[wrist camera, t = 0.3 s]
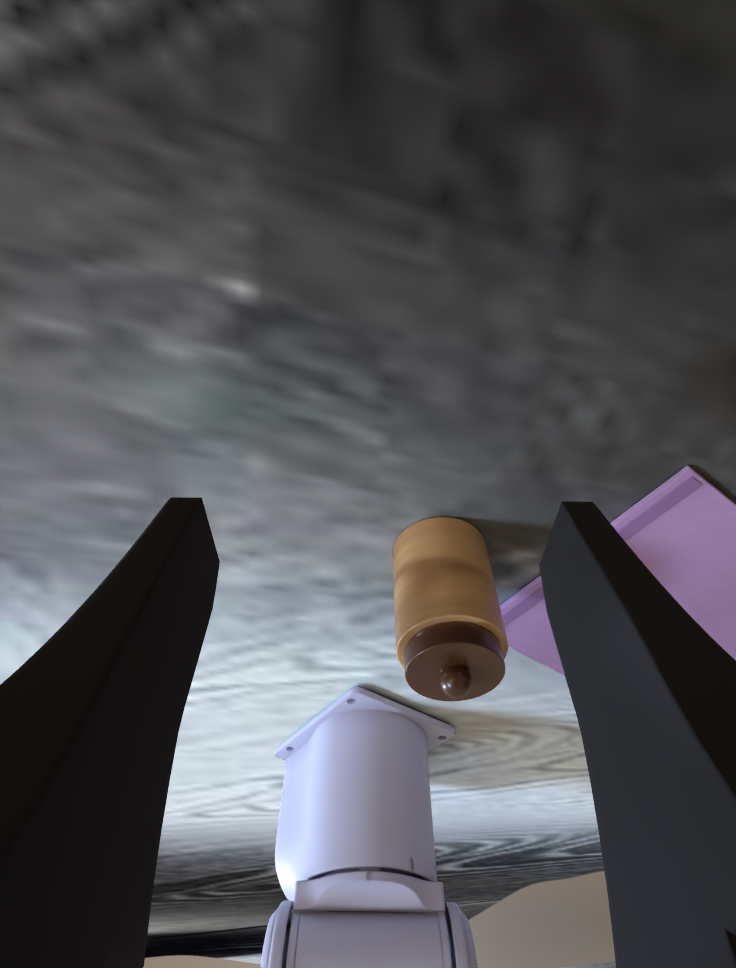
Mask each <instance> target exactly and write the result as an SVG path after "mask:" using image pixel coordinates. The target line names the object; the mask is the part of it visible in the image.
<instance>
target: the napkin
mask: <svg viewBox="0 0 736 968" xmlns="http://www.w3.org/2000/svg"><path fill="white" fill-rule="evenodd" d="M610 524H611V525H612V526H613V527H614V529H615V530H616V531H617V532H618V533H619V535H620V536H621V537H622V538H623V540H624V541H625V542H626V543H627V544H628V546H629V547H630V548H631V549H632V550H633V552H634V553H635V554H636V555H637V556H638V558H639V559H640V560H641V561H642V562H643V564H644V565H645V566H646V567H647V568H648V569H649V571H650V572H651V573H652V574H653V575H654V576H655V577H656V578H657V580H658V581H659V582H660V583H661V584H662V585H663V586H664V588H665V589H666V590H667V591H668V592H669V593H670V594H671V595H672V597H673V598H674V599H675V600H676V601H677V602H678V603H679V604H680V605H681V606H682V607H683V609H684V610H685V611H686V612H687V613H688V614H689V615H690V616H691V617H692V618H693V619H694V620H695V621H696V622H697V623H698V624H699V625H700V626H701V627H702V628H703V629H704V630H705V631H706V632H707V633H708V634H709V635H710V636H711V637H712V638H713V639H714V640H715V641H716V642H717V643H718V644H719V645H720V646H721V647H722V648H723V649H724V650H725V651H726V652H727V653H728V654H729V655H730V656H731V657H732V658H734V659H735V660H736V503H734V502H733V501H732V500H731V499H729V498H728V497H727V496H726V495H724V494H723V493H722V492H721V491H719V490H718V489H717V488H716V487H714V486H713V485H712V484H711V483H709V482H708V481H707V480H706V479H704V478H703V477H702V476H701V475H699V474H698V473H697V472H696V471H694V470H693V469H692V468H691V467H689V466H688V465H687V466H686V467H684V468H683V469H682V470H680V471H679V472H678V473H676V474H675V475H674V476H672V477H671V478H670V479H668V480H667V481H666V482H664V483H663V484H662V485H660V486H659V487H658V488H656V489H655V490H654V491H652V492H651V493H650V494H648V495H647V496H646V497H644V498H643V499H642V500H640V501H639V502H638V503H636V504H635V505H634V506H632V507H631V508H630V509H628V510H627V511H626V512H624V513H623V514H621V515H620V516H619V517H617V518H616V519H615V520H613V521H612V522H611V523H610ZM500 609H501V613H502V618H503V622H504V627H505V631H506V635H507V640H508V646H509V647H511V648H512V649H514V650H516V651H518V652H520V653H522V654H524V655H526V656H528V657H530V658H532V659H534V660H536V661H538V662H540V663H542V664H544V665H545V666H547V667H549V668H551V669H553V670H555V671H557V672H559V673H561V674H563V675H565V674H564V670H563V667H562V663H561V660H560V657H559V653H558V650H557V646H556V643H555V639H554V636H553V632H552V629H551V625H550V622H549V618H548V615H547V611H546V605H545V599H544V593H543V586H542V580H541V575H540V576H539V577H537V578H536V579H535V580H533V581H532V582H531V583H529V584H528V585H527V586H525V587H524V588H523V589H521V590H520V591H519V592H517V593H516V594H515V595H513V596H512V597H511V598H509V599H508V600H507V601H505V602H504V603H503V604H501V605H500Z"/></svg>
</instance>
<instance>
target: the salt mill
mask: <svg viewBox="0 0 736 968" xmlns="http://www.w3.org/2000/svg"><path fill="white" fill-rule="evenodd" d="M392 557H393V583H394V608H395V634H396V654H397V658H398V660H399V662H400V664H401V665H402V667H403V668H404V669H405V678H406V681H407V683H408V684H409V686H410V687H411V688H412V689H413V690H414V691H416V692H417V693H419V694H420V695H422V696H425V697H427V698H431V699H435V700H441V701H461V700H468V699H472V698H476V697H479V696H481V695H483V694H486V693H488V692H489V691H491V690H492V689H494V688H495V687H496V686H497V685H498V684H499V683H500V682H501V680H502V679H503V677H504V674H505V663H504V658H505V657H506V654H507V651H508V640H507V635H506V631H505V627H504V622H503V618H502V613H501V609H500V605H499V600H498V596H497V591H496V587H495V583H494V578H493V574H492V569H491V565H490V561H489V556H488V552H487V547H486V543H485V540H484V538H483V536H482V534H481V533H480V532H479V531H478V530H477V529H476V528H475V527H474V526H472V525H471V524H469V523H467V522H465V521H463V520H460V519H456V518H450V517H434V518H428V519H425V520H421V521H419V522H416V523H414V524H412V525H411V526H409V527H408V528H406V529H405V530H404V531H403V532H402V533H401V534H400V535H399V536H398V538H397V539H396V541H395V543H394V546H393V552H392Z"/></svg>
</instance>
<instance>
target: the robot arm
mask: <svg viewBox="0 0 736 968" xmlns="http://www.w3.org/2000/svg"><path fill="white" fill-rule="evenodd" d="M219 563H220V562H219V558H218V554H217V551H216V547H215V544H214V540H213V537H212V533H211V529H210V526H209V522H208V519H207V515H206V512H205V508H204V504H203V501H202V498H170V499H169V500H168V501H167V502H166V503H165V505H164V506H163V507H162V509H161V510H160V511H159V513H158V514H157V515H156V516H155V518H154V519H153V520H152V522H151V523H150V524H149V526H148V527H147V528H146V529H145V531H144V532H143V533H142V535H141V536H140V537H139V538H138V540H137V541H136V542H135V543H134V545H133V546H132V547H131V548H130V550H129V551H128V552H127V553H126V555H125V556H124V557H123V558H122V559H121V561H120V562H119V563H118V564H117V565H116V567H115V568H114V569H113V570H112V571H111V572H110V574H109V575H108V576H107V577H106V578H105V580H104V581H103V582H102V583H101V584H100V585H99V587H98V588H97V589H96V590H95V591H94V592H93V593H92V594H91V596H90V597H89V598H88V599H87V600H86V601H85V602H84V603H83V604H82V605H81V606H80V608H79V609H78V610H77V611H76V612H75V613H74V614H73V615H72V616H71V617H70V618H69V619H68V621H67V622H66V623H65V624H64V625H63V626H62V627H61V628H60V629H59V630H58V631H57V632H56V633H55V634H54V635H53V636H52V637H51V638H50V639H49V640H48V641H47V642H46V643H45V644H44V645H43V646H42V647H41V648H40V649H39V650H38V651H37V652H36V653H35V654H34V655H33V656H32V657H30V658H29V659H28V660H27V661H26V662H25V663H24V664H23V665H22V666H21V667H20V668H19V669H18V670H17V671H16V672H14V673H13V674H12V675H11V676H10V677H9V678H8V679H6V680H5V681H4V682H3V683H2V684H1V685H0V968H143V966H144V959H145V950H146V941H147V933H148V925H149V917H150V908H151V900H152V892H153V884H154V877H155V871H156V864H157V857H158V850H159V843H160V836H161V829H162V823H163V817H164V811H165V805H166V799H167V793H168V786H169V780H170V775H171V769H172V764H173V758H174V753H175V748H176V742H177V737H178V731H179V727H180V723H181V719H182V715H183V711H184V707H185V704H186V700H187V697H188V693H189V690H190V686H191V683H192V679H193V676H194V672H195V669H196V665H197V662H198V658H199V655H200V651H201V648H202V644H203V641H204V637H205V634H206V630H207V626H208V623H209V619H210V616H211V612H212V608H213V602H214V596H215V590H216V584H217V577H218V570H219ZM539 566H540V573H541V580H542V586H543V593H544V599H545V605H546V611H547V615H548V618H549V622H550V625H551V629H552V632H553V636H554V639H555V643H556V646H557V650H558V653H559V657H560V660H561V663H562V667H563V670H564V674H565V677H566V680H567V684H568V687H569V691H570V694H571V697H572V701H573V704H574V708H575V711H576V715H577V719H578V723H579V727H580V731H581V735H582V739H583V745H584V750H585V755H586V761H587V766H588V771H589V776H590V782H591V787H592V793H593V799H594V805H595V811H596V817H597V823H598V829H599V835H600V842H601V849H602V856H603V863H604V870H605V877H606V884H607V891H608V898H609V908H610V916H611V925H612V933H613V940H614V950H615V959H616V968H736V660H735V659H734V658H732V657H731V656H730V655H729V654H728V653H727V652H726V651H725V650H724V649H723V648H722V647H721V646H720V645H719V644H718V643H717V642H716V641H715V640H714V639H713V638H712V637H711V636H710V635H709V634H708V633H707V632H706V631H705V630H704V629H703V628H702V627H701V626H700V625H699V624H698V623H697V622H696V621H695V620H694V619H693V618H692V617H691V616H690V615H689V614H688V613H687V612H686V611H685V610H684V609H683V607H682V606H681V605H680V604H679V603H678V602H677V601H676V600H675V599H674V598H673V597H672V595H671V594H670V593H669V592H668V591H667V590H666V589H665V588H664V586H663V585H662V584H661V583H660V582H659V581H658V580H657V578H656V577H655V576H654V575H653V574H652V573H651V572H650V571H649V569H648V568H647V567H646V566H645V565H644V564H643V562H642V561H641V560H640V559H639V558H638V556H637V555H636V554H635V553H634V552H633V550H632V549H631V548H630V547H629V546H628V544H627V543H626V542H625V541H624V540H623V538H622V537H621V536H620V535H619V533H618V532H617V531H616V530H615V529H614V527H613V526H612V525H611V524H610V522H609V521H608V520H607V519H606V518H605V516H604V515H603V514H602V513H601V511H600V510H599V509H598V508H597V507H596V505H595V504H594V503H593V502H562V503H561V505H560V508H559V511H558V514H557V517H556V520H555V522H554V525H553V528H552V531H551V534H550V537H549V540H548V542H547V545H546V548H545V551H544V554H543V557H542V559H541V562H540V565H539ZM454 735H455V729H454V727H452V726H451V725H448V724H446V723H444V722H441V721H439V720H436V719H434V718H432V717H429V716H427V715H425V714H422V713H420V712H418V711H415V710H413V709H411V708H408V707H406V706H403V705H401V704H399V703H396V702H394V701H392V700H389V699H387V698H385V697H382V696H380V695H377V694H375V693H373V692H370V691H368V690H366V689H363V688H361V687H353V688H351V689H350V690H349V691H347V692H346V693H345V694H343V695H342V696H341V697H340V698H338V699H337V700H336V701H335V702H333V703H332V704H331V705H330V706H328V707H327V708H326V709H324V710H323V711H322V712H321V713H319V714H318V715H317V716H316V717H314V718H313V719H312V720H311V721H309V722H308V723H307V724H306V725H304V726H303V727H302V728H300V729H299V730H298V731H297V732H295V733H294V734H293V735H292V736H290V737H289V738H288V739H287V740H285V741H284V742H283V743H281V744H280V745H279V746H278V747H276V749H275V756H276V757H278V758H281V759H283V760H286V766H285V774H284V782H283V790H282V798H281V807H280V815H279V823H278V831H277V840H276V848H275V864H276V871H277V876H278V879H279V882H280V885H281V888H282V890H283V892H284V894H285V896H286V897H287V899H288V900H289V901H283V902H282V903H281V904H280V906H279V908H278V909H277V910H276V911H275V912H274V913H273V914H272V916H271V917H270V920H269V923H268V926H267V930H266V935H265V940H264V946H263V953H262V960H261V967H260V968H477V960H476V953H475V947H474V941H473V936H472V931H471V927H470V924H469V921H468V919H467V917H466V916H465V915H464V914H463V913H462V912H461V911H460V909H459V907H458V906H457V904H456V903H453V902H444V890H443V883H442V882H437V875H436V862H435V849H434V836H433V823H432V810H431V797H430V784H429V771H428V758H427V753H428V752H429V751H431V750H433V749H434V748H436V747H437V746H439V745H441V744H442V743H444V742H445V741H447V740H449V739H450V738H452V737H453V736H454Z"/></svg>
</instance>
